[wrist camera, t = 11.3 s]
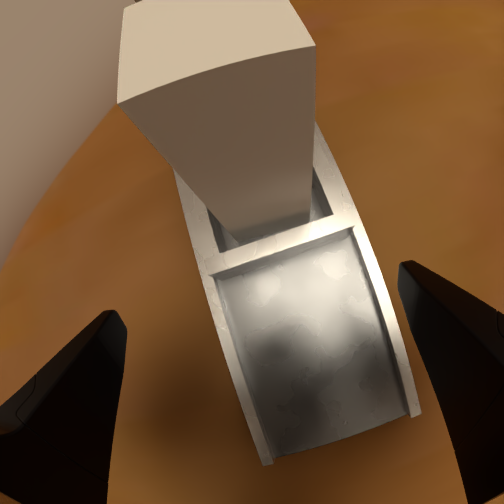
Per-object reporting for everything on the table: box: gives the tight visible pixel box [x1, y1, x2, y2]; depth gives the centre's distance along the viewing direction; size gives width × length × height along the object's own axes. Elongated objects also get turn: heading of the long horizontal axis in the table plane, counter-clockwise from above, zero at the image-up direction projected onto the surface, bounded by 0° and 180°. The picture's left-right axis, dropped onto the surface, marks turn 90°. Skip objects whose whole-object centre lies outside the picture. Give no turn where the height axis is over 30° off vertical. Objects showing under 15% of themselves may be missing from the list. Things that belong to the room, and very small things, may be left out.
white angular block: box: [117, 0, 316, 242], centre depth 12 cm, size 5×4×12 cm
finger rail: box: [135, 0, 421, 466], centre depth 12 cm, size 25×9×14 cm, turn 17°
